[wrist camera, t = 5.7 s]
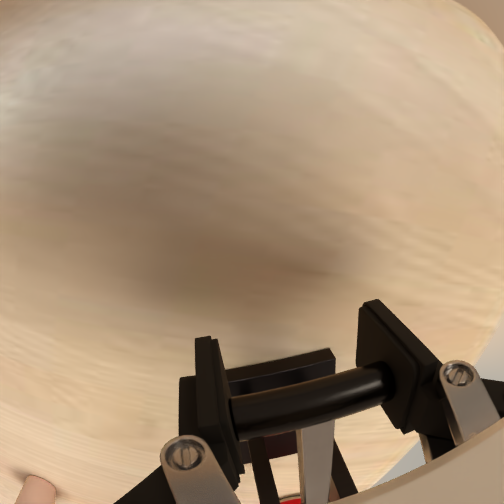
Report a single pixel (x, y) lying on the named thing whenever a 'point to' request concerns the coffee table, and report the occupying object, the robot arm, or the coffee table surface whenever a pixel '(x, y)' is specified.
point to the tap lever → (312, 417)
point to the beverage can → (291, 500)
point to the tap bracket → (286, 443)
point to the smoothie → (36, 492)
